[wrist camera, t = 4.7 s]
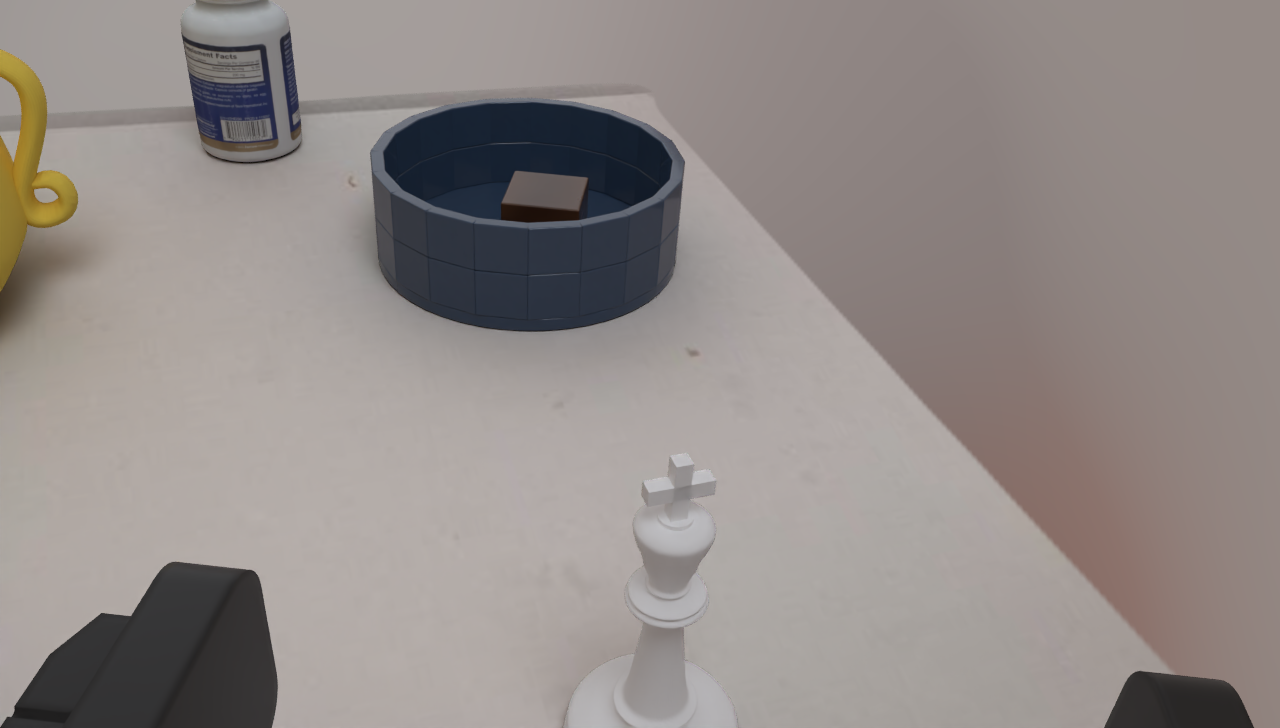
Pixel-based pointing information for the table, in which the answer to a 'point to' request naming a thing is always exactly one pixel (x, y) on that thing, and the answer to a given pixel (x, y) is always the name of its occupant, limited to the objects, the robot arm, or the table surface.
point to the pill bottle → (242, 78)
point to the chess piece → (661, 619)
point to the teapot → (27, 170)
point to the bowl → (518, 251)
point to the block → (545, 198)
